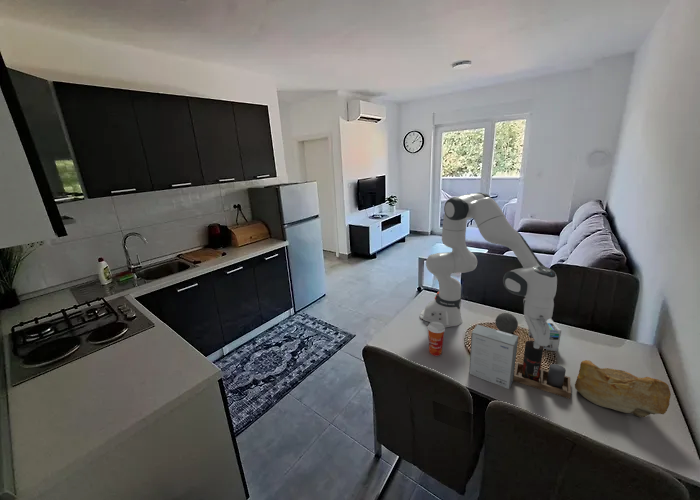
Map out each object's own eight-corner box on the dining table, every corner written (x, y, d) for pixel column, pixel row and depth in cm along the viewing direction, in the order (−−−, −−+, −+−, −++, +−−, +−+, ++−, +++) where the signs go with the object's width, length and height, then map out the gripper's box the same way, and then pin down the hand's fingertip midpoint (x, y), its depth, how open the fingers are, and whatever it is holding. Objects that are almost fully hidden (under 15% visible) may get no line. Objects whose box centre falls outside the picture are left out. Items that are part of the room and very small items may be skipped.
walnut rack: (513, 381, 116) (513, 375, 115) (515, 367, 124) (516, 361, 123) (569, 400, 106) (570, 393, 105) (568, 383, 114) (570, 377, 113)
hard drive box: (514, 379, 118) (519, 336, 112) (509, 390, 112) (515, 346, 106) (474, 363, 127) (477, 323, 121) (467, 373, 122) (471, 332, 116)
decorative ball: (498, 324, 155) (500, 307, 152) (519, 330, 148) (521, 313, 145) (491, 332, 149) (493, 314, 146) (512, 339, 142) (515, 321, 139)
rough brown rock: (662, 406, 103) (671, 368, 99) (663, 434, 91) (674, 392, 88) (579, 376, 119) (585, 343, 116) (571, 398, 107) (577, 361, 104)
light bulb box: (558, 351, 132) (562, 330, 129) (541, 350, 133) (545, 329, 130) (548, 337, 142) (551, 317, 139) (532, 336, 143) (535, 317, 140)
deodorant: (529, 370, 121) (533, 339, 116) (542, 379, 115) (547, 347, 111) (518, 374, 119) (521, 342, 115) (530, 384, 114) (535, 351, 109)
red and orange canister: (423, 352, 136) (424, 326, 132) (431, 344, 142) (432, 319, 137) (439, 359, 131) (440, 332, 127) (447, 351, 136) (448, 324, 132)
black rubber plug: (546, 387, 112) (549, 370, 109) (546, 379, 116) (549, 362, 113) (562, 392, 109) (565, 374, 107) (562, 383, 113) (565, 366, 111)
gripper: (557, 325, 98) (551, 360, 102) (540, 298, 116) (536, 328, 120) (535, 323, 100) (530, 357, 104) (522, 297, 118) (518, 327, 122)
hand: (533, 342), depth 112 cm, fingers open, 5 cm apart
